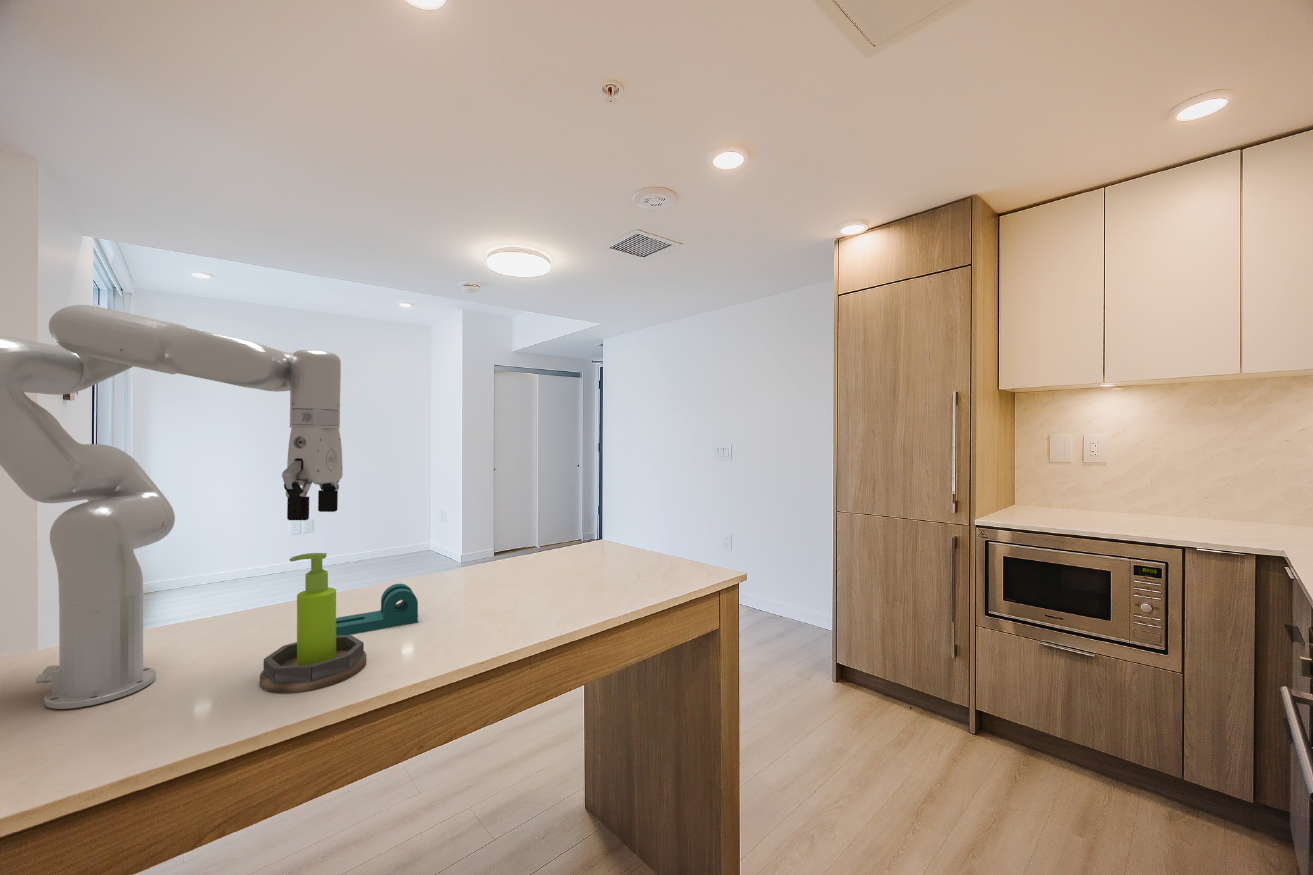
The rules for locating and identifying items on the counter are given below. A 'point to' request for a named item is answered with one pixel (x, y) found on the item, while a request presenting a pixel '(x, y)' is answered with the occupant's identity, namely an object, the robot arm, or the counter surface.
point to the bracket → (383, 613)
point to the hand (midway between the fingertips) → (313, 515)
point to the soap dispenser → (316, 614)
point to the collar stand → (312, 667)
